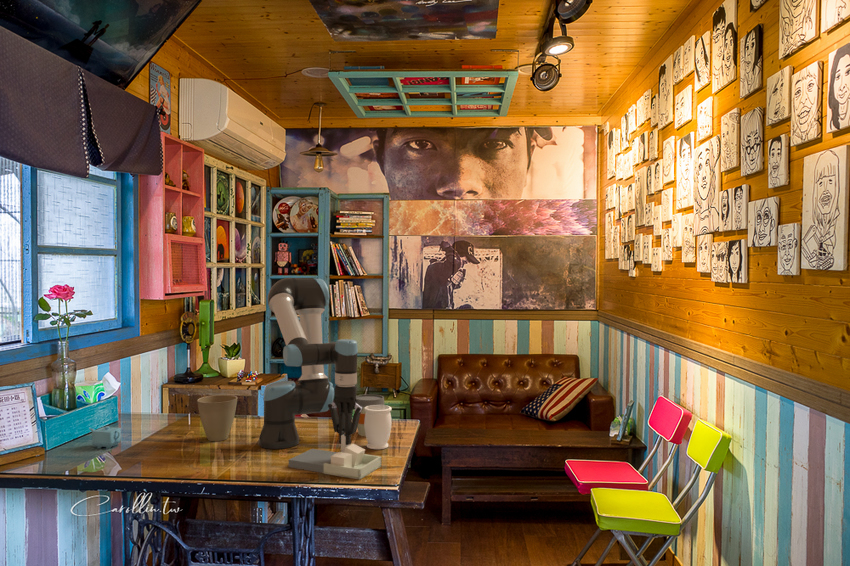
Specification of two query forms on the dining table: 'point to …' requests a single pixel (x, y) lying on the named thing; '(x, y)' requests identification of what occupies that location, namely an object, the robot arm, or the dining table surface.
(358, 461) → the block
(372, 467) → the tray
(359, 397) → the reusable coffee cup
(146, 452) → the dining table surface
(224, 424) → the plant pot
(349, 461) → the block
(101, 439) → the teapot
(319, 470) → the board
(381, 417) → the jar
